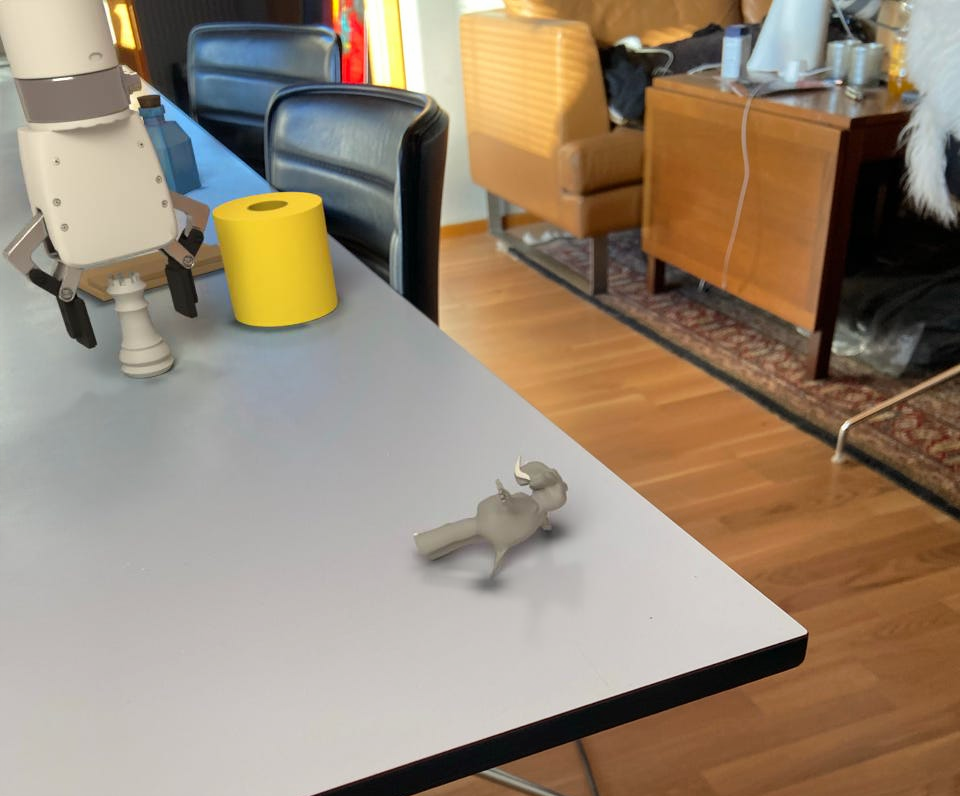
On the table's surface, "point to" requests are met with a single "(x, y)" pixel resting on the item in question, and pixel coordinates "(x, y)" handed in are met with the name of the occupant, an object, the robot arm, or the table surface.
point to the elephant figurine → (502, 515)
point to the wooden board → (147, 270)
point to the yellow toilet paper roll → (276, 258)
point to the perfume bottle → (170, 146)
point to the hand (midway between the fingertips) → (137, 328)
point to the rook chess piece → (137, 329)
